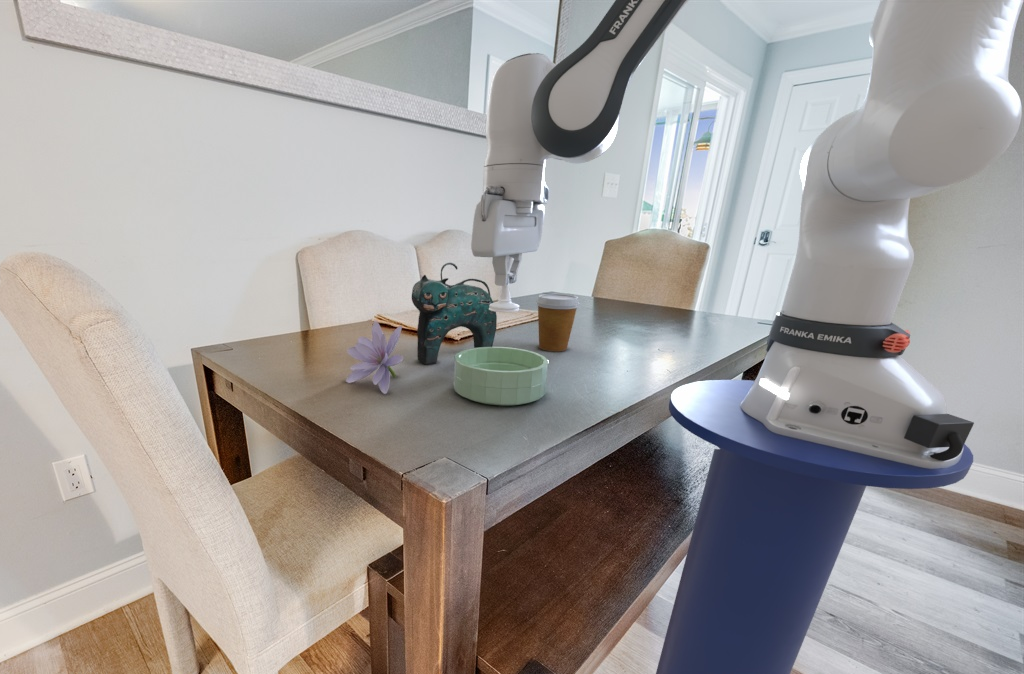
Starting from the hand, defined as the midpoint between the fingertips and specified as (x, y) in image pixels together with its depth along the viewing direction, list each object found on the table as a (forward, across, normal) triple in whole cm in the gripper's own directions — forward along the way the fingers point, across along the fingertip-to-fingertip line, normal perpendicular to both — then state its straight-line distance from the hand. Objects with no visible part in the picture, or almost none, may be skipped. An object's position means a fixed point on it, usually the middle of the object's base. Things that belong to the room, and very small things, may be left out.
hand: (505, 284), depth 74 cm
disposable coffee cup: (+18, +35, +1) cm, 39 cm away
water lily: (+18, -8, +21) cm, 29 cm away
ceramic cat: (+18, +15, +17) cm, 29 cm away
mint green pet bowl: (+18, 0, 0) cm, 18 cm away
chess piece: (+4, 0, 0) cm, 4 cm away
